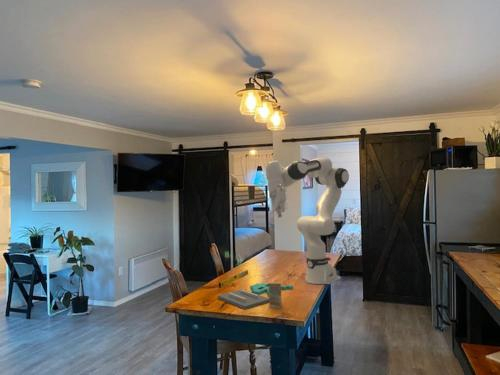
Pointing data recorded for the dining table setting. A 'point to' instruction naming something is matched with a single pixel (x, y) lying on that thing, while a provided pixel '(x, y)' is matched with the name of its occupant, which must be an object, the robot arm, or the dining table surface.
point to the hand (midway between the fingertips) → (281, 214)
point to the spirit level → (233, 278)
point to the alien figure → (265, 288)
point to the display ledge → (243, 299)
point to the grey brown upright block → (275, 294)
